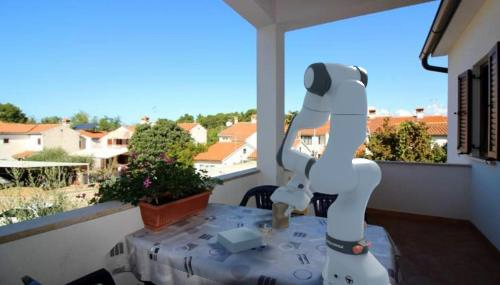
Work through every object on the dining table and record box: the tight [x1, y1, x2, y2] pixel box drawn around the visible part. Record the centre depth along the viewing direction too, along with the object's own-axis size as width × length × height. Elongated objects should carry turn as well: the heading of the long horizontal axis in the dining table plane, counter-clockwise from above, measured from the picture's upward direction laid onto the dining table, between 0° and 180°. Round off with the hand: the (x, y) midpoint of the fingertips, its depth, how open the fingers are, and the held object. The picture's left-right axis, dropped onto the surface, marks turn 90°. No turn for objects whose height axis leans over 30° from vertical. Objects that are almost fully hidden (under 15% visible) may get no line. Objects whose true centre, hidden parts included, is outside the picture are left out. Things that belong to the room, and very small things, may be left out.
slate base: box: [217, 226, 263, 254], centre depth 112 cm, size 14×14×4 cm
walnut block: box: [271, 202, 290, 231], centre depth 112 cm, size 5×5×10 cm
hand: (279, 213), depth 112 cm, fingers closed on walnut block, 5 cm apart
